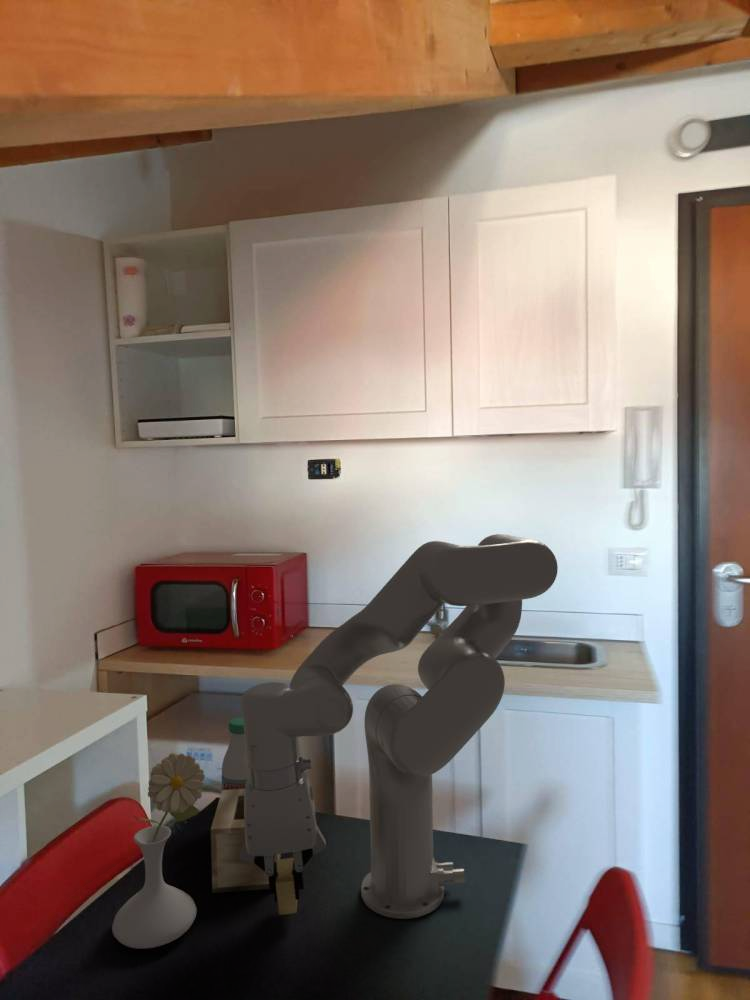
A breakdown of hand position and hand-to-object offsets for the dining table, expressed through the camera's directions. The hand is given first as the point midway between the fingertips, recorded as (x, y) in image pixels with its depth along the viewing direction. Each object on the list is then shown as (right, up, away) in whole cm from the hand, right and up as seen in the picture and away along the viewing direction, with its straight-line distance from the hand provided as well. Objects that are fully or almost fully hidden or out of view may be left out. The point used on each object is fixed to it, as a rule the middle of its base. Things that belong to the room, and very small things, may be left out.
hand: (287, 894), depth 98 cm
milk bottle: (-11, -3, +25) cm, 27 cm away
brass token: (0, -1, 0) cm, 1 cm away
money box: (-8, -3, +13) cm, 16 cm away
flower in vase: (-18, -4, -2) cm, 18 cm away
